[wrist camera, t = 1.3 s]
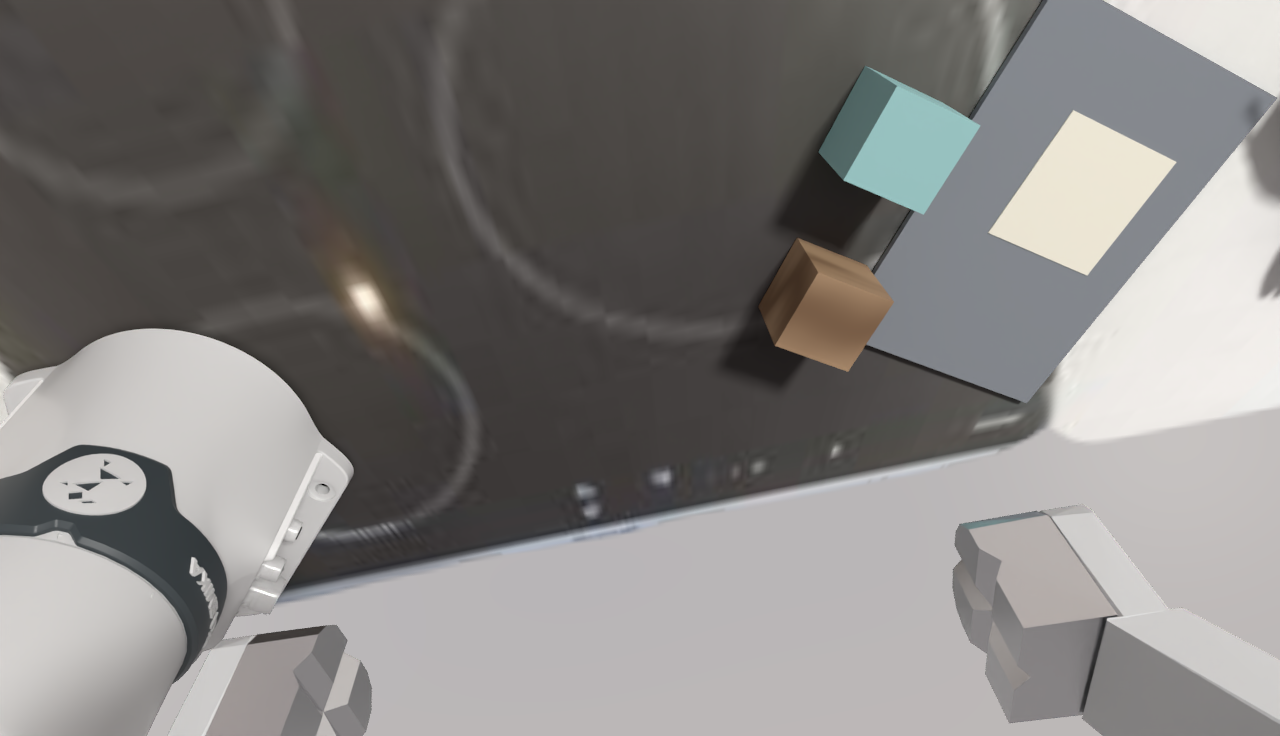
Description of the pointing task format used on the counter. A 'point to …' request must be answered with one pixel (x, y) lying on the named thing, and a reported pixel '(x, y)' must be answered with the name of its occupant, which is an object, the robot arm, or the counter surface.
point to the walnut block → (823, 305)
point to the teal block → (896, 141)
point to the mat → (1058, 194)
